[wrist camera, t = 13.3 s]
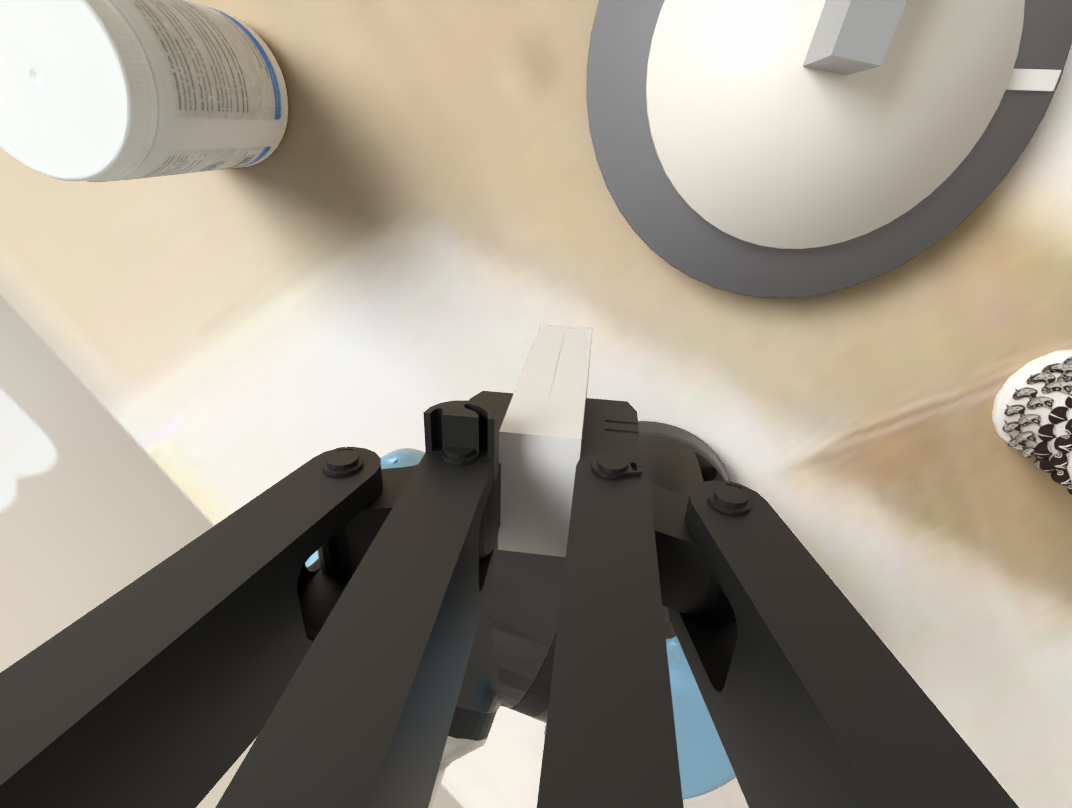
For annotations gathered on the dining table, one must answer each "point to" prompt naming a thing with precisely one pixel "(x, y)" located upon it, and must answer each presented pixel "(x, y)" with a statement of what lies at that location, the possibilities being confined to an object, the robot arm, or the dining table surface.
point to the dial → (822, 107)
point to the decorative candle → (1039, 413)
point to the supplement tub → (135, 89)
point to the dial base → (749, 269)
